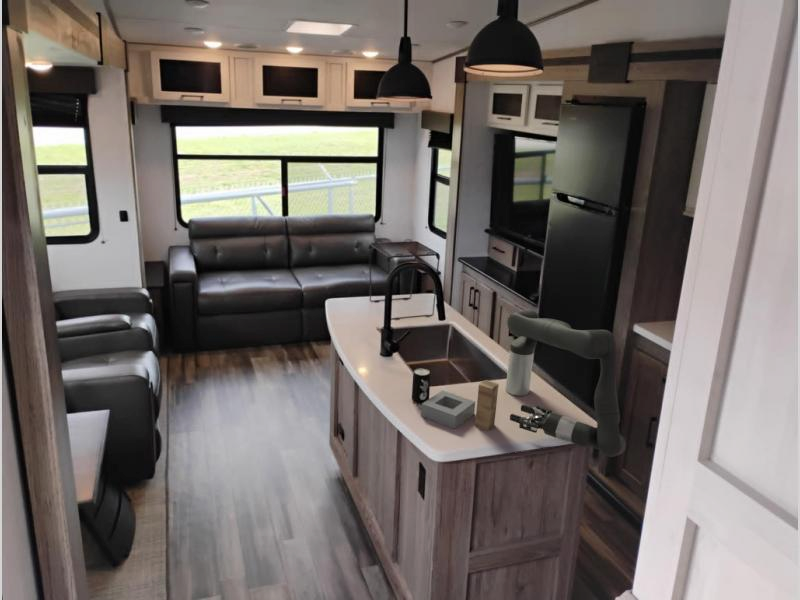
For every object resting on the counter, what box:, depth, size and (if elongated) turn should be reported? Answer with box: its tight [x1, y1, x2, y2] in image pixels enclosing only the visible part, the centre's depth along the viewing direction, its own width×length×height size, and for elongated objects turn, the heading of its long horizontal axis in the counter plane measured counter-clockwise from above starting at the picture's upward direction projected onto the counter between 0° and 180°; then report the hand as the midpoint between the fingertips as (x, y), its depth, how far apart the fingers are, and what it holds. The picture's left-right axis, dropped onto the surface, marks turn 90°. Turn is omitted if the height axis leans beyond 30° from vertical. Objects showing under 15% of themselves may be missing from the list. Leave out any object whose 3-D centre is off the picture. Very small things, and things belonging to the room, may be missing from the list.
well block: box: [420, 390, 476, 429], centre depth 225 cm, size 14×14×5 cm
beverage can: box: [411, 367, 432, 405], centre depth 234 cm, size 7×7×12 cm
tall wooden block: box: [474, 379, 499, 431], centre depth 218 cm, size 5×5×16 cm
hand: (515, 412), depth 212 cm, fingers open, 8 cm apart
